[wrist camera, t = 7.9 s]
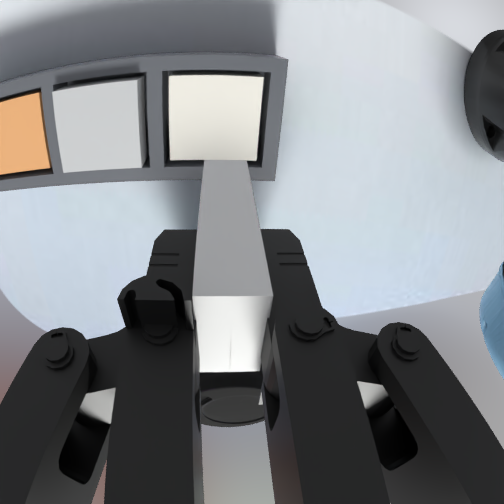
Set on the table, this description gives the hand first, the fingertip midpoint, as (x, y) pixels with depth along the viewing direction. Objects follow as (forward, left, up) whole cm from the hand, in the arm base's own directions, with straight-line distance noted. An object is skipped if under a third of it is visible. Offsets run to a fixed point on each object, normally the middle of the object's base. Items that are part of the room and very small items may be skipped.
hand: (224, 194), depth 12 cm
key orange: (+16, 0, -12) cm, 20 cm away
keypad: (+8, 0, -15) cm, 17 cm away
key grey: (+8, 0, -11) cm, 14 cm away
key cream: (0, 0, -12) cm, 12 cm away
